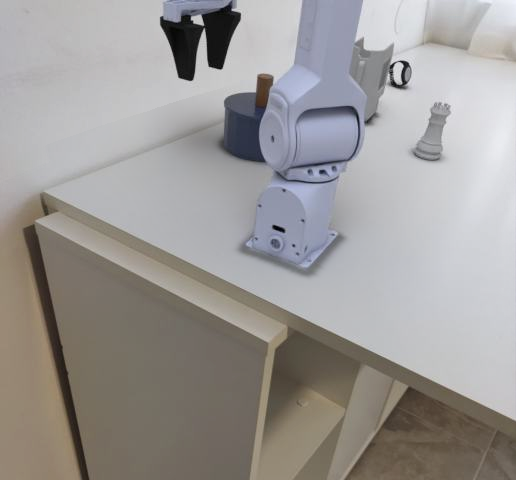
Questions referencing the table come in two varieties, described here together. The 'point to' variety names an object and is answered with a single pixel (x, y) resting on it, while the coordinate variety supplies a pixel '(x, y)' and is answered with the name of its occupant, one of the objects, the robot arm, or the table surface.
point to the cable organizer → (370, 73)
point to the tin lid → (251, 100)
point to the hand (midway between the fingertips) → (201, 73)
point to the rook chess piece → (433, 133)
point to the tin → (242, 137)
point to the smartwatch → (404, 74)
